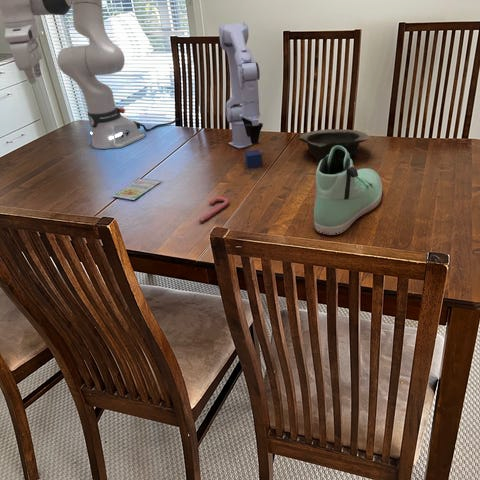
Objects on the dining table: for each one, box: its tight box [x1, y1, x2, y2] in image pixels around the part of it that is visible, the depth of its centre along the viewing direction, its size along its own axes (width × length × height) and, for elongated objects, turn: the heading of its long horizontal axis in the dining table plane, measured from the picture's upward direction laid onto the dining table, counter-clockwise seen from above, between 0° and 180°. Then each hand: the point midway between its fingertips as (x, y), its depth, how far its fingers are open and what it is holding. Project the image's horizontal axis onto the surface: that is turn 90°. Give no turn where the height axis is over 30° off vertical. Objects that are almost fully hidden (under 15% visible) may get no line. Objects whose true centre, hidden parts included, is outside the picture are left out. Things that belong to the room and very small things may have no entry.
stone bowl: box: [298, 128, 371, 163], centre depth 172 cm, size 25×25×9 cm
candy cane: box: [198, 196, 230, 223], centre depth 143 cm, size 6×15×2 cm, turn 145°
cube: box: [244, 149, 263, 169], centre depth 170 cm, size 5×5×5 cm
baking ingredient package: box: [112, 178, 161, 201], centre depth 160 cm, size 9×1×15 cm
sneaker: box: [313, 146, 383, 236], centre depth 133 cm, size 14×35×20 cm, turn 152°
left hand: (35, 79), depth 148 cm, fingers open, 8 cm apart
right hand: (252, 139), depth 167 cm, fingers open, 7 cm apart
